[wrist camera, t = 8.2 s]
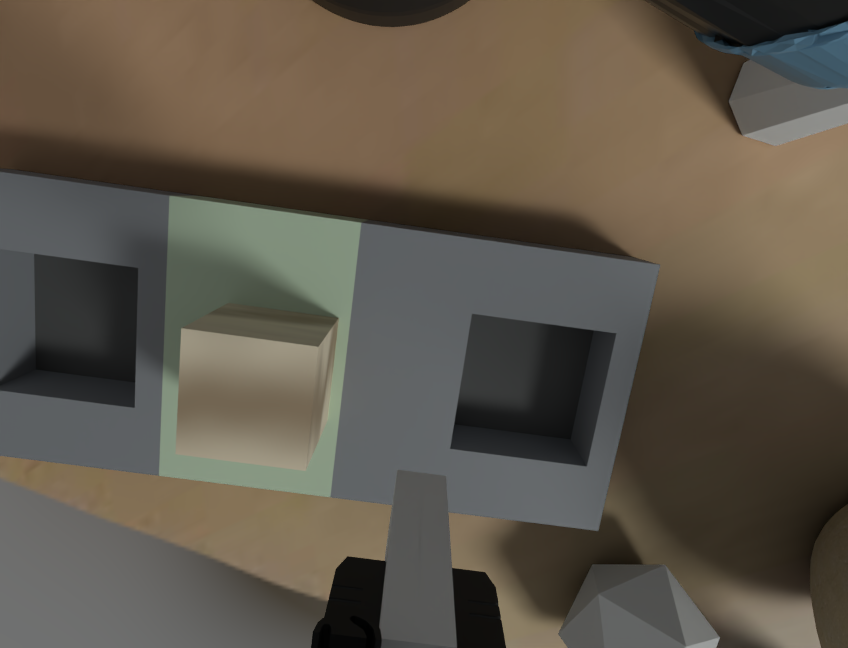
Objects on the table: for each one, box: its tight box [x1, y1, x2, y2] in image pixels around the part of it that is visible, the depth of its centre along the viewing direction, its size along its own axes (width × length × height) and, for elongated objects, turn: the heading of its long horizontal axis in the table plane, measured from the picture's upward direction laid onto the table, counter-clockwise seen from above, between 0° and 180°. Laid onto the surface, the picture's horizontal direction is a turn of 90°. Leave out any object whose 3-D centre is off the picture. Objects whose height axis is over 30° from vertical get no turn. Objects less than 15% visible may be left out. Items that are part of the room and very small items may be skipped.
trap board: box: [0, 168, 660, 531], centre depth 33 cm, size 16×37×4 cm, turn 82°
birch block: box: [175, 303, 339, 471], centre depth 28 cm, size 6×6×6 cm
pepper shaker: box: [729, 60, 848, 146], centre depth 26 cm, size 5×5×11 cm
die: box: [558, 564, 720, 648], centre depth 35 cm, size 8×9×10 cm
